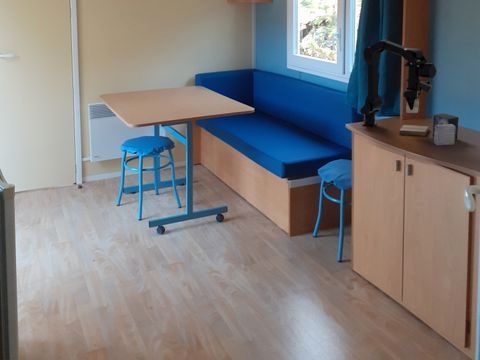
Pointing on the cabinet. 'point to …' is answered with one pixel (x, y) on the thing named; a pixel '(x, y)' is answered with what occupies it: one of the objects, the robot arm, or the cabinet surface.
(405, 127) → the beige flat square slab
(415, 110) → the maple cube
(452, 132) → the medicine box
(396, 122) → the cabinet surface
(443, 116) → the small box
